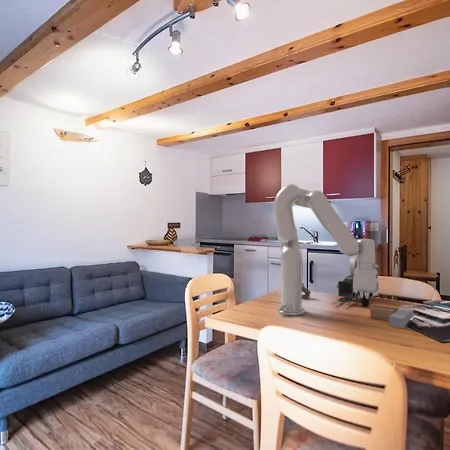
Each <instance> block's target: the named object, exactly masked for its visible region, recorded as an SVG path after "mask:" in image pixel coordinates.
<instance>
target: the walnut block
mask: <svg viewBox="0 0 450 450" xmlns="http://www.w3.org/2000/svg"><path fill="white" fill-rule="evenodd" d="M397 310H398V307H394V306H387V305H383V304H382V305H381V304H377V303H376V304H374V305H372V306H371V307H370V310H369V311H370V313H369V314H370V319H371V320H376V321H382V322H387V323H389V316H390V315H392V314H393V313H394V312H395V311H397Z"/></svg>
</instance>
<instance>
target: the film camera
mask: <svg viewBox="0 0 450 450" xmlns="http://www.w3.org/2000/svg"><path fill="white" fill-rule="evenodd" d="M355 268H357V255H354V256H350V258H349V263H348V270H349V275H348V276H345V277H343V280H338V283H337V284H336V288H337V290H338V297H340V298H338V299H337V300H336V301H333V302H332V303H331V305H332V306H333V305H336V303H339V302H341V303H343V304H341V306H342V307H344V306H346V305H347V304H350V303H351V302H357V301H359V300H361V297H360V295H359V294H358V293H355V292H353V289H354V288H353V278H354V272H355Z"/></svg>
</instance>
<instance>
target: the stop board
mask: <svg viewBox="0 0 450 450" xmlns="http://www.w3.org/2000/svg"><path fill="white" fill-rule="evenodd" d="M414 312H415V308H409V307H404V306H401V307H399V308H397V311H395V312H394V313H393V314H392V315H390V316H389V322H388V323H389V325H388V326H389V327H393V328H396V329H397V328H399V329H402V330H403V329H405V327H406V326H407V325H408V324H409V323H410V322H409V320H410V319H411V318H412V317H413V316H414V315H415V313H414ZM408 322H409V323H408ZM407 323H408V324H407ZM406 324H407V325H406Z"/></svg>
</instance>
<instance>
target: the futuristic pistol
mask: <svg viewBox="0 0 450 450" xmlns="http://www.w3.org/2000/svg"><path fill="white" fill-rule="evenodd" d="M302 293H304V294H302V298H305V299H310V297H311V291H310V290H309V289H308V288H307V287H305V283H304V282H302Z"/></svg>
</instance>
